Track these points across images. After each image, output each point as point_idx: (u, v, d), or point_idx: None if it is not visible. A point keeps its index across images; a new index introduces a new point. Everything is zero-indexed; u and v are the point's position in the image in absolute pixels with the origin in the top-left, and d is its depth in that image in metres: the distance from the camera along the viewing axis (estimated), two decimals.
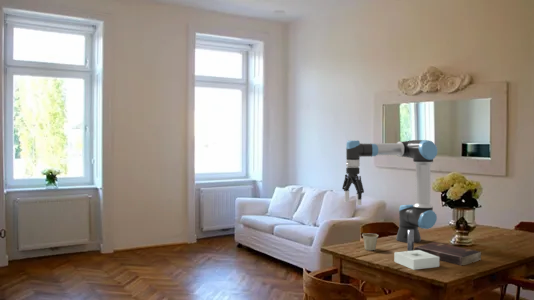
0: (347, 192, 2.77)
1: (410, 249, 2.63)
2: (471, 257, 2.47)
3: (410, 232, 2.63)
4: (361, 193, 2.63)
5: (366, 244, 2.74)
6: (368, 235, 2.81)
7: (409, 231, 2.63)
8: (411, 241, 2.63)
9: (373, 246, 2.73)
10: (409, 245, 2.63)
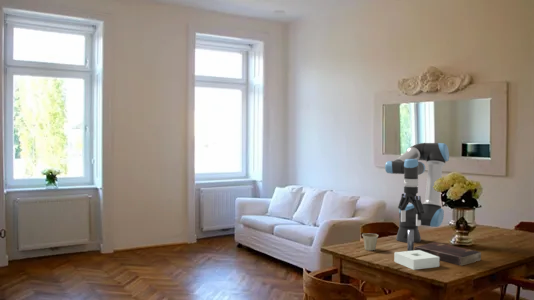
0: (403, 211, 2.70)
1: (410, 249, 2.63)
2: (471, 257, 2.47)
3: (410, 232, 2.63)
4: (421, 213, 2.56)
5: (366, 244, 2.74)
6: (368, 235, 2.81)
7: (409, 231, 2.63)
8: (411, 241, 2.63)
9: (373, 246, 2.73)
10: (409, 245, 2.63)
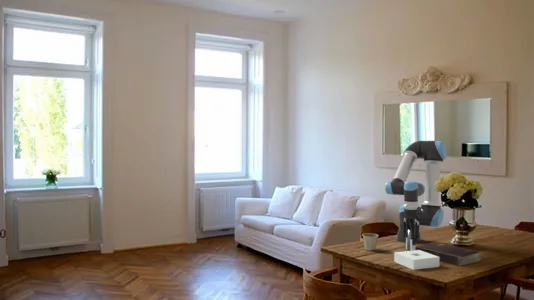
0: None
1: (410, 249, 2.63)
2: (471, 257, 2.47)
3: (410, 232, 2.63)
4: (415, 239, 2.61)
5: (366, 244, 2.74)
6: (368, 235, 2.81)
7: (409, 231, 2.63)
8: None
9: (373, 246, 2.73)
10: (409, 245, 2.64)
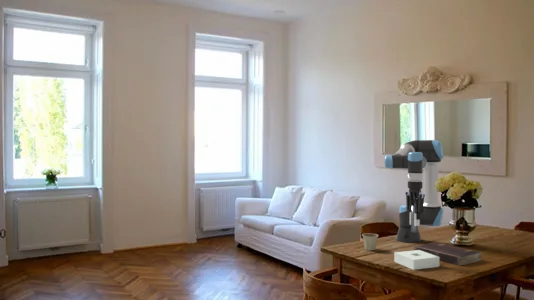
0: None
1: (414, 226, 2.47)
2: (470, 257, 2.47)
3: (414, 208, 2.47)
4: (420, 213, 2.45)
5: (366, 244, 2.74)
6: (368, 235, 2.81)
7: (413, 207, 2.47)
8: None
9: (373, 246, 2.73)
10: (413, 222, 2.47)
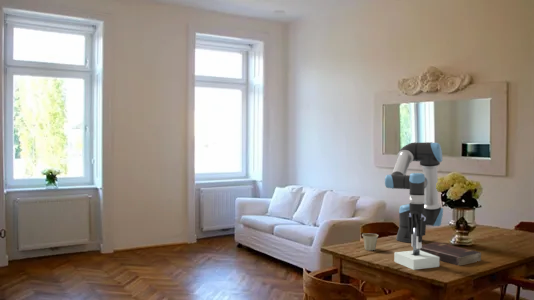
0: None
1: (416, 249, 2.43)
2: (470, 257, 2.47)
3: (416, 230, 2.42)
4: (422, 235, 2.41)
5: (366, 244, 2.74)
6: (368, 235, 2.81)
7: (415, 229, 2.43)
8: None
9: (373, 246, 2.73)
10: (415, 244, 2.43)
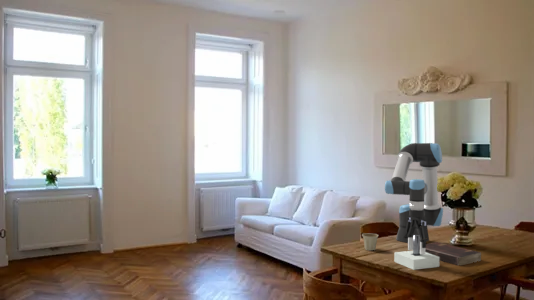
0: (411, 239, 2.49)
1: None
2: (470, 257, 2.46)
3: (416, 238, 2.43)
4: (425, 241, 2.38)
5: (366, 244, 2.74)
6: (368, 235, 2.81)
7: (415, 237, 2.43)
8: (417, 247, 2.43)
9: (373, 246, 2.73)
10: (415, 252, 2.43)
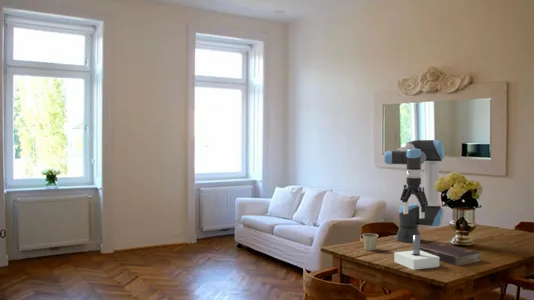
0: (406, 203, 2.60)
1: None
2: (469, 257, 2.46)
3: (416, 238, 2.43)
4: (425, 206, 2.46)
5: (366, 244, 2.74)
6: (368, 235, 2.81)
7: (415, 237, 2.43)
8: (417, 247, 2.43)
9: (373, 246, 2.73)
10: (415, 252, 2.43)
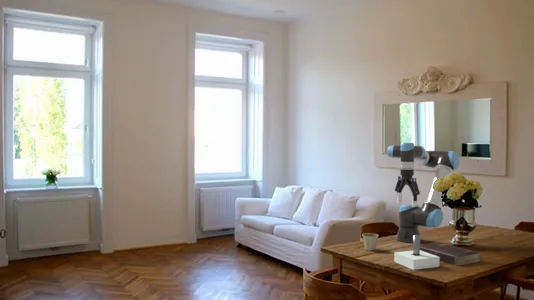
0: (400, 194, 2.80)
1: None
2: (469, 257, 2.46)
3: (416, 238, 2.43)
4: None
5: (366, 244, 2.74)
6: (368, 235, 2.81)
7: (415, 237, 2.43)
8: (417, 247, 2.43)
9: (373, 246, 2.73)
10: (415, 252, 2.43)
